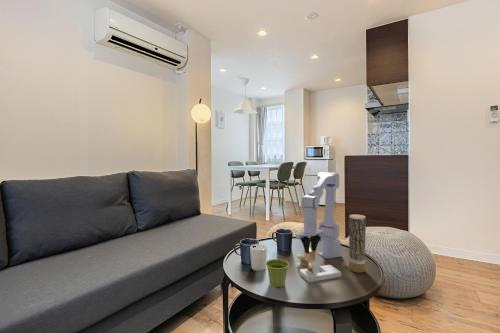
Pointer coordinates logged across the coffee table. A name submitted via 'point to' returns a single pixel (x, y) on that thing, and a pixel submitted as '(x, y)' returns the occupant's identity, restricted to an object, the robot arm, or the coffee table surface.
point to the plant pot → (277, 272)
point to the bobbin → (303, 262)
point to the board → (325, 273)
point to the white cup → (258, 257)
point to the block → (310, 255)
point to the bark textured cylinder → (357, 243)
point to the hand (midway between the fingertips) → (310, 252)
